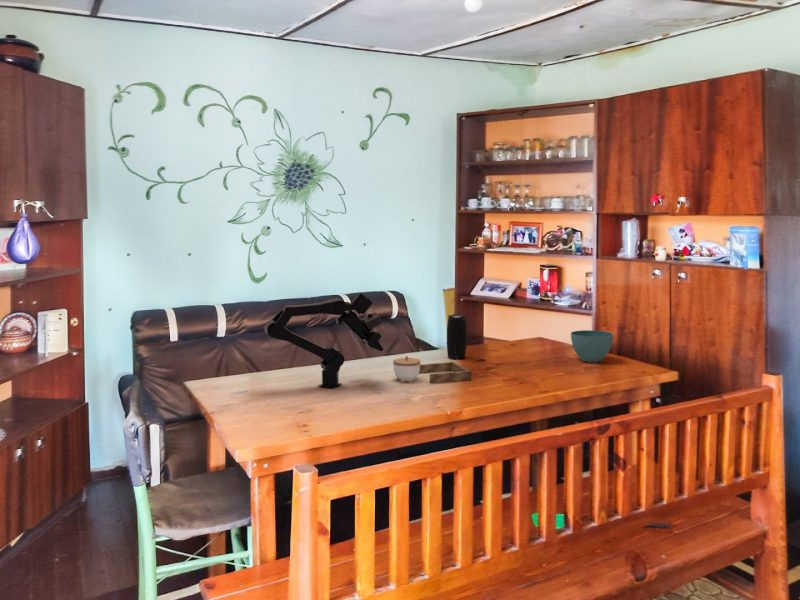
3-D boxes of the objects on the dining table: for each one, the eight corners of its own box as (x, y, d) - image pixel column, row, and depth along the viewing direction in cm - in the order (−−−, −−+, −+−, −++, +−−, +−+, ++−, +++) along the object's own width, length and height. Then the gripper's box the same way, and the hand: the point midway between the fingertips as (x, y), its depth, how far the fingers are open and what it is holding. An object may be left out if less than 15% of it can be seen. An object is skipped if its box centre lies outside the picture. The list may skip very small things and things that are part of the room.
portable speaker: (453, 355, 330) (454, 313, 327) (470, 357, 324) (471, 315, 322) (442, 358, 323) (442, 315, 321) (459, 360, 317) (460, 317, 315)
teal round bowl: (561, 358, 322) (562, 331, 321) (593, 355, 330) (594, 328, 329) (588, 366, 306) (589, 338, 305) (621, 362, 314) (622, 335, 312)
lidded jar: (421, 376, 288) (421, 353, 287) (419, 383, 277) (419, 359, 276) (394, 376, 289) (394, 353, 288) (391, 382, 278) (391, 359, 277)
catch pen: (430, 383, 277) (430, 374, 276) (414, 373, 294) (414, 365, 293) (471, 380, 282) (471, 371, 282) (452, 370, 299) (452, 362, 299)
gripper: (376, 311, 266) (404, 339, 271) (362, 305, 283) (388, 331, 288) (356, 333, 264) (384, 361, 269) (343, 325, 281) (370, 351, 286)
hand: (382, 350), depth 278 cm, fingers closed
